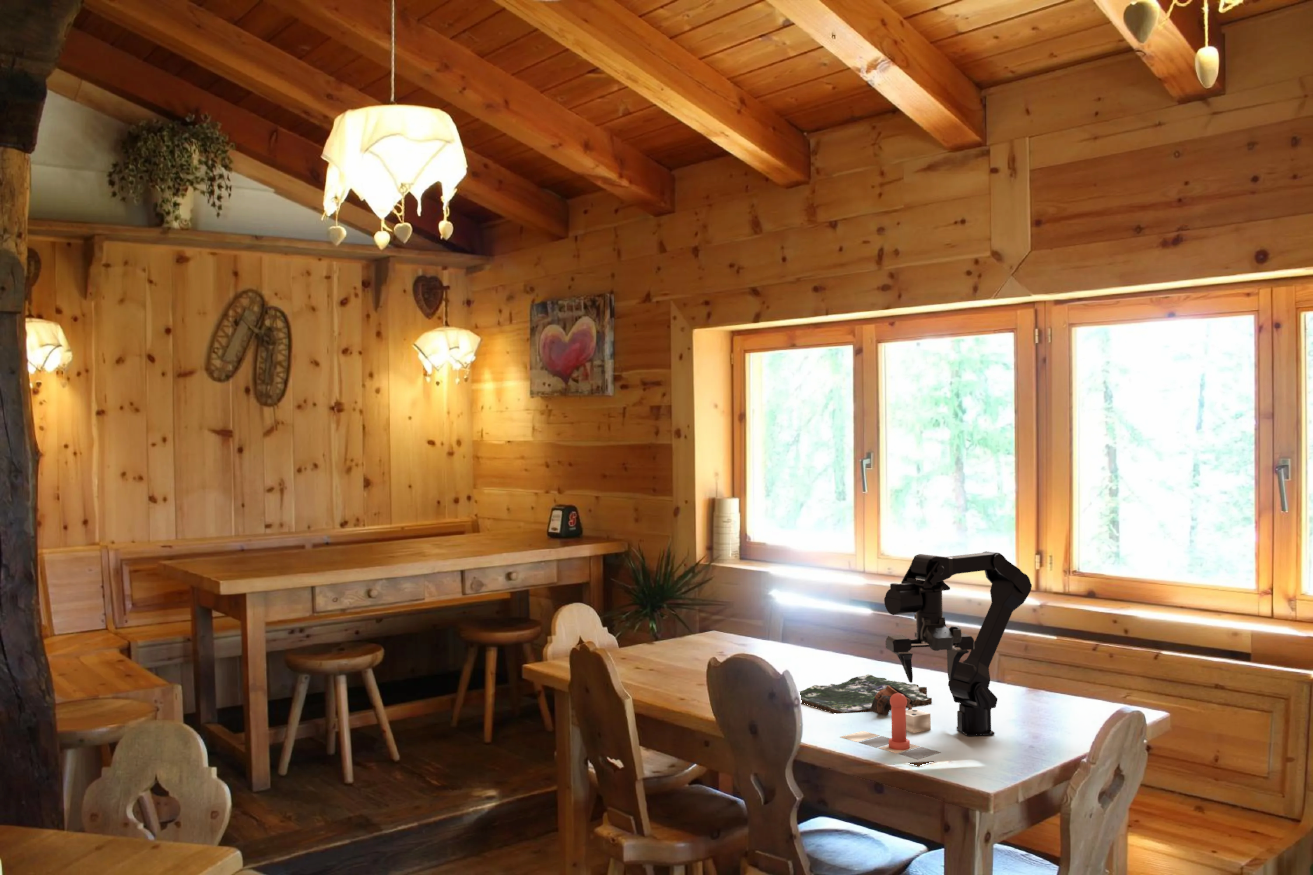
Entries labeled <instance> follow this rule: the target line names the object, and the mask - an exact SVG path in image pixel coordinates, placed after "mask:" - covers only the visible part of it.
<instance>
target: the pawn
mask: <svg viewBox="0 0 1313 875" xmlns="http://www.w3.org/2000/svg"><path fill="white" fill-rule="evenodd" d="M890 705H891V710H890V711H891V739H889V744H888V745H889V748H891V749H894V750H907V749H909V748H910V744H911V742H910V739H908V738H907V730H906V710H907V707H906V705H907V699H906V697H905V696H904V695H903V694H901V693H895V694H893V695H892V696H891V698H890ZM907 751H908V750H907Z"/></svg>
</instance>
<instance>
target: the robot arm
mask: <svg viewBox="0 0 1313 875" xmlns="http://www.w3.org/2000/svg"><path fill="white" fill-rule="evenodd" d="M974 572H976V573H977V572H984V574H985V578H986V579H987V580H988V581H989V582H990V583H991V586H990V588H989V589H990V590H989V592H990V600H991V604H990V606H989V608H988V610H987V613H986V615H985V617H984V620H983V622H982V624H981V627H980V629H979V631H978V633H977V635H976V637H975V638H976V639H974V637H973V636H971V635H969V634H966V633H965V632H962V629H961V627H960V626H959V625H958V626H954V625H953V626H950V627H949V626H948V627H947V624H946V617H945V616H943V591H944V592H945V591H950V590H951V587H950V586H949V585H948V584H946V583H945V580H948V579H950V578H951V577H953V576H955V575H959V574H966V573H974ZM900 582H901V583H895V582H894V583H893V582H891V583H890V584H889V586H890V587H889V588H890V589H888V590H887V591H886V593H885V596H884V600H883V601H884V606H885V609H886V611H887V613H889V614H890V615H891V616H897V615H898V616H899V615H908V614H913V617H914V619H915V620H916V621H915V623H916V624H915V626H916V632H914V638H909V637H907V636H905V635H902V634H901V635H888V636H887V637H886V638H885V639H886V640H885V649H887V650H889V651H890V652H892V653H893V654H895V655H896V656H897V657H898V659H899V662H900V663H901V666H902V668H903V670H904V673H905V674H906V677H907V680H908V682H909V684H913V677H914V674H913V665H912V662H913V661H912V658H913V655H914V654H913V653H912V652H911V651H912V649H914V648H930V650H932V651H934V652H935V651H936V652H937V651H945V650H946V661H947V662H946V665H947V668H946V669H947V677H948V683H947V684H948V685H947V687H948V688H949V691H950V693H951V695H952V698H953V701H954V703H957V704H958V707H959V708H958V709H959V710H957V712H956V714H957V717H956V718H957V725H956V729H957V731H960V733H962V734H964V735H965V736H968V737H975V736H976V737H977V736H992V735H995V734H996V732H994V731H993V730H992V711H991V710H992V709H995V708H997V704H998V697H997V696H996V695H995V693H993V691H992V690H990V688H989V687H990V683H991V674H990V666H991V663H992V660H993V658H994V656H995V653H996V651H997V648H998V646H999V645H1000V642H1001V640H1002V638H1003V635H1004V633H1005V630H1006V628H1007V627H1008V624H1009V621H1010V618H1011V617H1012V614H1013V613H1014V611H1015V610H1017V609H1018V608H1019V607H1020V606H1022V605H1023V604H1024V603H1025V601H1026V600H1027V598H1028V597H1029V595H1030V593H1031V592H1032V591H1031V590H1032V588H1033V587H1032V582H1031V579H1030V577H1029V576H1028V574H1026V573H1024V572H1023V571H1022V570H1021V569H1020V568H1019V567H1017V566H1016V565H1014V564H1013V563H1011V562H1010V561H1008V559H1006V557H1005V556H1004V555H1003V554H1002V553H1000V552H994V551H983V552H979V553H978V552H977V553H971V554H969V553H967V554H959V555H952V556H951V555H950V556H940V555H933V554H931V555H930V554H924V553H918V554H916V555H914V556H913V559H912V560H911V563H910V566H908V569H907V571H906V573H905V575H904V576H903V578H902V580H901V581H900ZM969 650H970V651H969ZM966 654H968V656H967V658H965V660H963V661H960V660H961V658H962V657H963V656H964V655H966Z"/></svg>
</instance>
